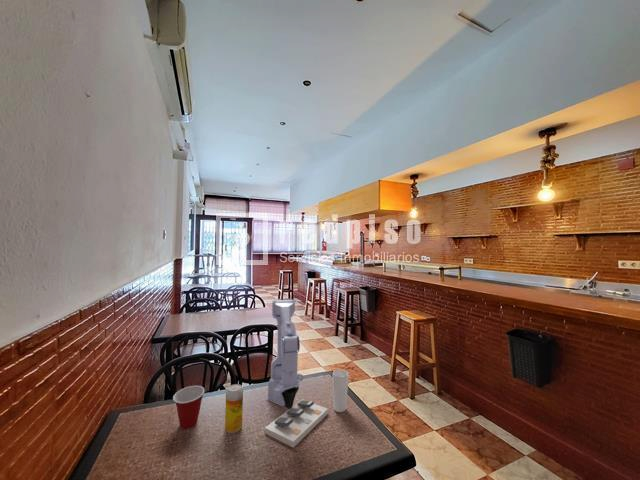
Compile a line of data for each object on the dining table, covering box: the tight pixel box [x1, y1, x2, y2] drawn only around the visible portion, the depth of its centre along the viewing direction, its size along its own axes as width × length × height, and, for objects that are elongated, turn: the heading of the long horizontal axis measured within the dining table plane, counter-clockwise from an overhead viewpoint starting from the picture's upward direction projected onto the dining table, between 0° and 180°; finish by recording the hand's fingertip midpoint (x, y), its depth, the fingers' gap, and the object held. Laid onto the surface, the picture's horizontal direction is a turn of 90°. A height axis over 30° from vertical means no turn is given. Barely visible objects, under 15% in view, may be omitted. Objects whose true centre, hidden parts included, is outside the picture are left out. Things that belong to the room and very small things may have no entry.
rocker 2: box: [286, 408, 304, 416], centre depth 106 cm, size 6×3×1 cm, turn 58°
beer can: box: [224, 383, 244, 434], centre depth 101 cm, size 6×6×15 cm
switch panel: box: [264, 399, 329, 448], centre depth 105 cm, size 13×23×2 cm, turn 148°
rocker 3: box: [297, 399, 315, 408], centre depth 112 cm, size 6×3×1 cm, turn 58°
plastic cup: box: [172, 385, 205, 430], centre depth 103 cm, size 11×11×12 cm
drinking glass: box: [331, 369, 350, 413], centre depth 115 cm, size 7×7×15 cm
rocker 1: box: [275, 416, 293, 427], centre depth 100 cm, size 6×3×1 cm, turn 58°
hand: (288, 407), depth 99 cm, fingers closed
